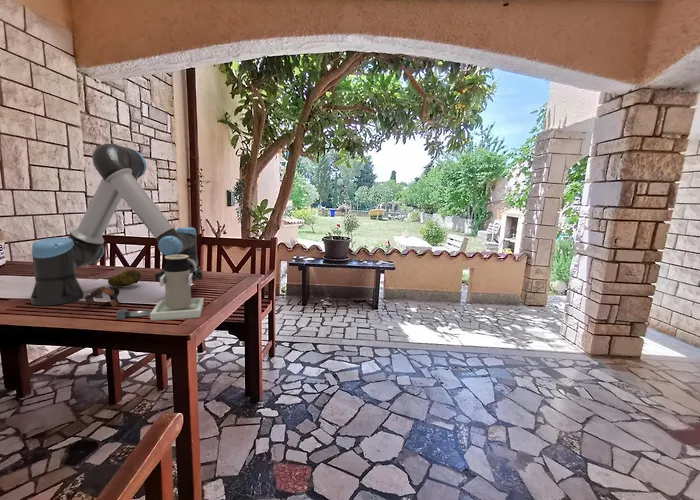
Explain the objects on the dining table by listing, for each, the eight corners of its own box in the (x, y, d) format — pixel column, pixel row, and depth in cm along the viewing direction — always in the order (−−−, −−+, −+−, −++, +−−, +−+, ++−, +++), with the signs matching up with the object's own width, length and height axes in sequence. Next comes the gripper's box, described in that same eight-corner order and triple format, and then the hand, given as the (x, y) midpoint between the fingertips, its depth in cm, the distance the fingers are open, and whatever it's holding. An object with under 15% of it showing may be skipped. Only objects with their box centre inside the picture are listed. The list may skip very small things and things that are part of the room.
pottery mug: (110, 311, 118) (94, 293, 115) (90, 320, 120) (74, 302, 117) (131, 294, 129) (117, 277, 126) (113, 302, 131) (99, 285, 128)
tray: (150, 321, 109) (150, 313, 109) (159, 306, 123) (159, 300, 123) (200, 317, 114) (199, 310, 114) (203, 304, 128) (203, 297, 128)
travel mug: (181, 310, 114) (179, 258, 111) (161, 308, 115) (158, 257, 112) (196, 303, 121) (194, 255, 119) (176, 301, 123) (174, 253, 120)
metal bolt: (116, 319, 109) (116, 311, 109) (119, 316, 112) (118, 309, 112) (149, 317, 113) (148, 309, 112) (151, 314, 115) (150, 307, 115)
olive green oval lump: (123, 283, 153) (122, 266, 152) (145, 286, 150) (144, 268, 149) (105, 287, 146) (104, 269, 144) (128, 290, 142) (127, 272, 141)
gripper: (212, 276, 137) (209, 290, 116) (156, 278, 131) (141, 294, 109) (212, 258, 136) (208, 269, 115) (154, 259, 130) (139, 272, 108)
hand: (175, 281), depth 112 cm, fingers closed on travel mug, 8 cm apart
